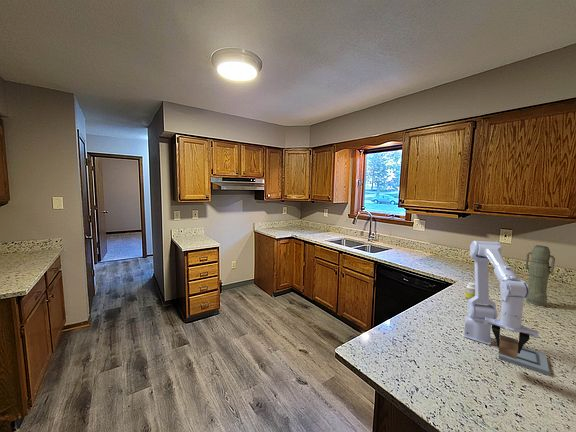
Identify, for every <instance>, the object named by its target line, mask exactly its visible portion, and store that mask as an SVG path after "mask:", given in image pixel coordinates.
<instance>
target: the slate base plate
mask: <svg viewBox="0 0 576 432" xmlns="http://www.w3.org/2000/svg"><path fill="white" fill-rule="evenodd" d="M498 360H501V361H504V362H507V363H510V364H513V365H516V366H519V367H522V368H524V369H527V370H531V371H534V372H537V373H540V374H542V375H546V376H548V377H549V376H550V368H549V364H548V363H549V362H548V360H547V354H546V353H544V352H541V351H538V350H534V349H532V348H527V347H525V346H523V347H522V349H521V351H520V354H519V353H518V354H517V359H514V358H511V357H508V356H505V355H502V354H499V353H498Z"/></svg>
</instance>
